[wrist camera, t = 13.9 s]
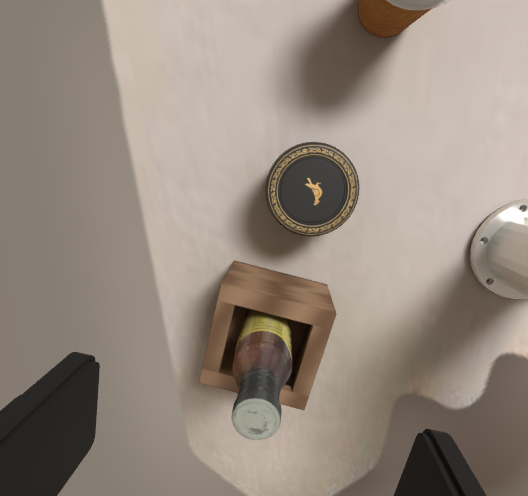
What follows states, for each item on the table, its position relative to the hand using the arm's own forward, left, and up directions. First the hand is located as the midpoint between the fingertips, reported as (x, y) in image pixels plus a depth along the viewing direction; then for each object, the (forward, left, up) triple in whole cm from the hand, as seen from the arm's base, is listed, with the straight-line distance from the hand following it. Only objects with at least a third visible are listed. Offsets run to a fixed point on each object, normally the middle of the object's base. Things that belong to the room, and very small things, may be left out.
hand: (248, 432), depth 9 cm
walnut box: (-2, +13, -34) cm, 37 cm away
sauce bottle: (-2, +13, -34) cm, 36 cm away
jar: (-2, -6, -35) cm, 35 cm away
